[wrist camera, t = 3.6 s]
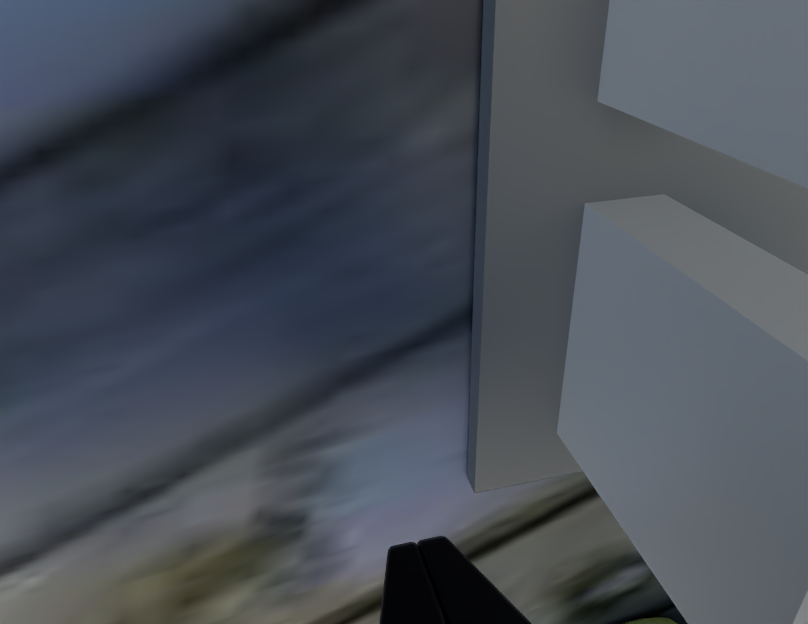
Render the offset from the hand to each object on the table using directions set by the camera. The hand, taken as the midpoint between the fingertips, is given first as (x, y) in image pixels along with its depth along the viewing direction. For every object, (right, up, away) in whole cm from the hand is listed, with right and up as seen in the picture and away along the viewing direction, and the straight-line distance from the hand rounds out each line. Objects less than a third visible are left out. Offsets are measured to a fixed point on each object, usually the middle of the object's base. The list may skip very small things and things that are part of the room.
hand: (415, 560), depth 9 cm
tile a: (+4, +3, +5) cm, 8 cm away
